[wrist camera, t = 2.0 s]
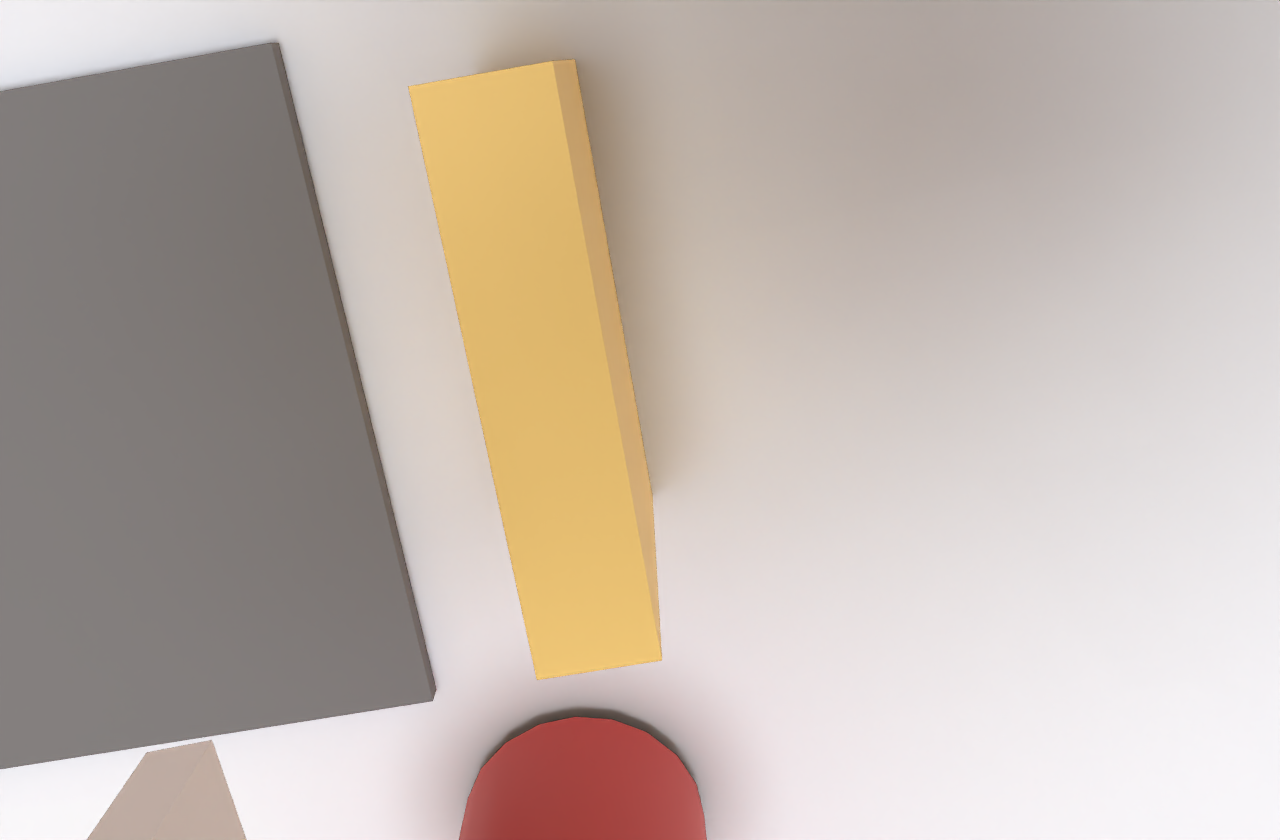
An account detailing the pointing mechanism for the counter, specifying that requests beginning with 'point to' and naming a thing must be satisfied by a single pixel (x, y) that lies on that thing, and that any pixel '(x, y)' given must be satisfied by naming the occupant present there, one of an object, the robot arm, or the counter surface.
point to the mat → (182, 425)
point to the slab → (546, 358)
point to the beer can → (584, 787)
